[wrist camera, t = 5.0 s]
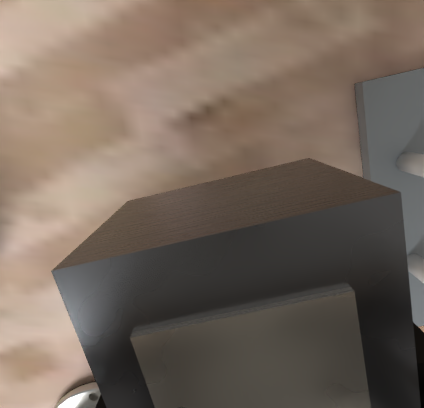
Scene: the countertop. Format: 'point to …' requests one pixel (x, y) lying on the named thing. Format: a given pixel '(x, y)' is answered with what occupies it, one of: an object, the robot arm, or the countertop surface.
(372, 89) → the peg board
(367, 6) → the countertop surface
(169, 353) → the drive
